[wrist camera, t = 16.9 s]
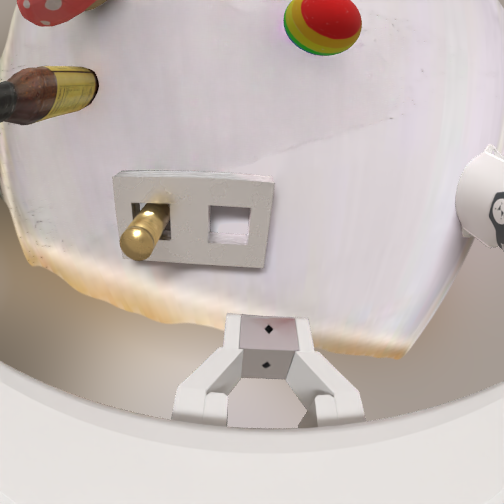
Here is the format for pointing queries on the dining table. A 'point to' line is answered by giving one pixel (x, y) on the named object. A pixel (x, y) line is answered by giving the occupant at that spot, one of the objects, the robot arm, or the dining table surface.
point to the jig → (199, 214)
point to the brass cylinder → (145, 231)
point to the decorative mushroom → (54, 10)
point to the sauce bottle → (46, 93)
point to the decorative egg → (322, 25)
